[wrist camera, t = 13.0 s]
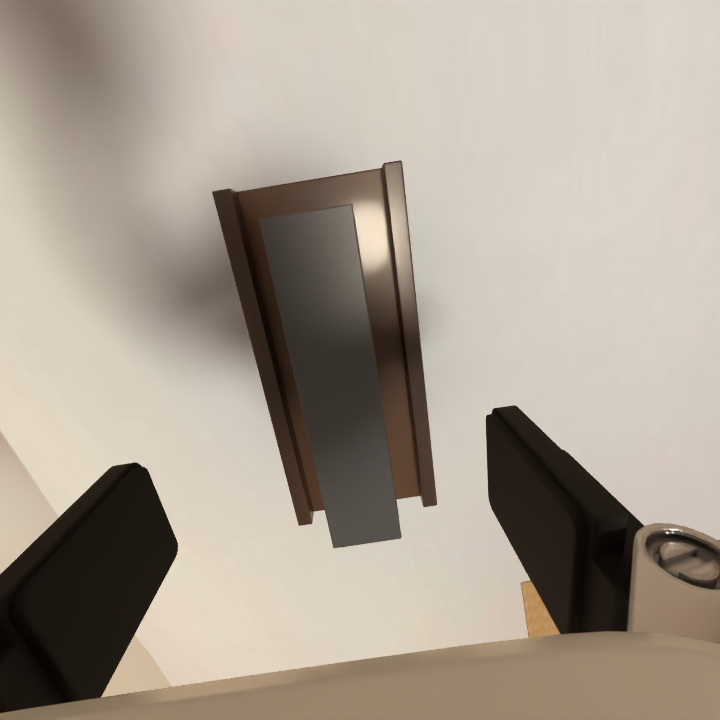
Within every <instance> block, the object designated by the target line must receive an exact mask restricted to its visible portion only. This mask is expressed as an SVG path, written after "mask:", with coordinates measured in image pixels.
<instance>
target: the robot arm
mask: <svg viewBox="0 0 720 720" xmlns="http://www.w3.org/2000/svg"><path fill="white" fill-rule="evenodd" d="M486 439H487V469H488V496H489V502H490V505H491V508H492V510H493V512H494V514H495V516H496V517H497V519H498V521H499V523H500V525H501V527H502V528H503V530H504V532H505V534H506V536H507V538H508V539H509V541H510V543H511V545H512V547H513V549H514V550H515V552H516V554H517V556H518V558H519V560H520V561H521V563H522V565H523V567H524V569H525V571H526V572H527V574H528V576H529V578H530V580H531V582H532V583H533V585H534V587H535V589H536V591H537V593H538V594H539V596H540V598H541V600H542V602H543V604H544V605H545V607H546V609H547V611H548V613H549V615H550V616H551V618H552V620H553V622H554V624H555V626H556V627H557V629H558V631H559V633H560V634H558V635H549V636H541V637H532V638H524V639H516V640H507V641H499V642H490V643H482V644H473V645H465V646H458V647H451V648H443V649H436V650H429V651H422V652H414V653H407V654H400V655H393V656H386V657H378V658H371V659H364V660H357V661H349V662H342V663H335V664H328V665H321V666H314V667H307V668H300V669H293V670H286V671H279V672H272V673H265V674H258V675H251V676H244V677H237V678H230V679H223V680H217V681H210V682H203V683H196V684H189V685H182V686H175V687H168V688H162V689H155V690H148V691H142V692H135V693H128V694H122V695H115V696H110V697H102V698H101V696H102V694H103V692H104V690H105V689H106V687H107V685H108V683H109V681H110V679H111V677H112V675H113V674H114V672H115V670H116V668H117V666H118V664H119V662H120V660H121V658H122V656H123V655H124V653H125V651H126V649H127V647H128V645H129V644H130V642H131V640H132V638H133V636H134V634H135V632H136V631H137V629H138V627H139V625H140V623H141V621H142V619H143V617H144V616H145V614H146V612H147V610H148V608H149V606H150V604H151V602H152V601H153V599H154V597H155V595H156V593H157V591H158V589H159V587H160V586H161V584H162V582H163V580H164V578H165V576H166V574H167V572H168V571H169V569H170V567H171V565H172V563H173V561H174V559H175V557H176V555H177V551H178V543H177V540H176V538H175V535H174V533H173V530H172V528H171V525H170V523H169V521H168V518H167V516H166V513H165V511H164V508H163V506H162V504H161V501H160V499H159V496H158V494H157V491H156V489H155V487H154V484H153V482H152V479H151V477H150V474H149V472H148V470H147V469H146V468H145V467H142V466H141V465H140V464H138V463H130V464H123V465H117V466H112V467H111V468H110V469H108V470H107V471H106V472H105V473H104V474H103V475H102V476H101V477H100V478H99V479H98V480H97V481H96V482H95V483H94V484H93V485H92V486H91V487H90V488H89V489H88V490H87V491H86V492H85V493H84V494H83V495H82V496H81V497H80V498H79V499H78V500H77V501H76V502H75V503H73V504H72V505H71V506H70V507H69V508H68V509H67V510H66V511H65V512H64V513H63V514H62V515H61V516H60V517H59V518H58V519H57V520H56V521H55V522H54V523H53V524H52V525H51V526H50V527H49V528H48V529H47V530H46V531H45V532H44V533H43V534H42V535H41V536H39V538H37V540H35V541H34V542H33V543H32V544H31V545H30V546H29V548H27V549H26V550H25V551H24V552H23V553H22V554H21V555H20V556H19V557H18V558H17V559H16V560H15V561H14V562H13V563H12V564H11V565H10V566H9V567H8V568H7V569H6V570H4V572H2V573H1V574H0V720H720V541H718V540H716V539H714V538H712V537H710V536H708V535H706V534H704V533H702V532H699V531H696V530H693V529H691V528H688V527H684V526H679V525H674V524H662V523H655V524H651V525H646V526H644V525H643V524H642V523H641V522H640V521H639V520H638V519H637V518H635V517H634V516H633V515H632V514H631V513H630V512H629V511H628V510H627V509H626V508H625V507H624V506H623V505H622V504H621V503H620V502H619V501H618V500H617V499H616V498H615V497H614V496H612V495H611V494H610V493H609V492H608V491H607V490H606V489H605V488H604V487H603V486H602V485H601V484H600V483H599V482H598V481H597V480H596V479H595V478H594V477H593V476H592V475H590V474H589V473H588V472H587V471H586V470H585V469H584V468H583V467H582V466H581V465H580V464H579V463H578V462H577V461H576V460H575V459H574V458H573V457H572V456H571V455H570V454H569V453H567V452H566V451H564V450H561V449H560V448H559V447H558V446H557V445H556V444H555V443H554V442H553V441H552V440H551V439H550V438H549V437H548V436H547V435H546V434H545V433H544V432H543V431H542V430H541V429H540V428H539V427H538V426H537V425H536V424H535V423H534V422H533V421H531V420H530V419H529V418H528V417H527V416H526V415H525V414H524V413H523V412H522V411H521V410H520V409H519V408H518V407H517V406H507V407H501V408H494V409H493V410H492V414H490V415H487V416H486Z"/></svg>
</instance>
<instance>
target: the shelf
mask: <svg viewBox="0 0 720 720" xmlns="http://www.w3.org/2000/svg"><path fill="white" fill-rule="evenodd" d="M212 193H213V197H214V201H215V205H216V209H217V212H218V216H219V220H220V224H221V228H222V232H223V236H224V239H225V243H226V247H227V251H228V255H229V259H230V263H231V266H232V270H233V274H234V278H235V282H236V286H237V289H238V293H239V297H240V301H241V305H242V309H243V313H244V316H245V320H246V324H247V328H248V332H249V336H250V340H251V343H252V347H253V351H254V355H255V359H256V363H257V367H258V370H259V374H260V378H261V382H262V386H263V390H264V393H265V397H266V401H267V405H268V409H269V413H270V417H271V420H272V424H273V428H274V432H275V436H276V440H277V444H278V447H279V451H280V455H281V459H282V463H283V467H284V470H285V474H286V478H287V482H288V486H289V490H290V494H291V497H292V501H293V505H294V509H295V513H296V517H297V521H298V524H299V526H300V525H307V524H312V521H313V514H314V511H320V510H325V508H324V504H323V500H322V495H321V491H320V486H319V482H318V478H317V473H316V469H315V464H314V460H313V456H312V451H311V447H310V442H309V438H308V433H307V429H306V425H305V420H304V416H303V411H302V407H301V403H300V398H299V394H298V389H297V385H296V381H295V376H294V372H293V367H292V363H291V358H290V354H289V350H288V345H287V341H286V336H285V332H284V328H283V323H282V319H281V314H280V310H279V306H278V301H277V297H276V292H275V288H274V284H273V279H272V275H271V270H270V266H269V261H268V257H267V253H266V248H265V244H264V239H263V235H262V231H261V226H260V222H259V219H262V218H268V217H274V216H280V215H286V214H292V213H298V212H305V211H311V210H317V209H323V208H329V207H335V206H341V205H347V204H352V205H353V211H354V216H355V221H356V228H357V235H358V242H359V249H360V256H361V262H362V269H363V276H364V283H365V290H366V297H367V303H368V310H369V317H370V324H371V331H372V337H373V344H374V351H375V358H376V365H377V372H378V378H379V385H380V392H381V399H382V406H383V413H384V419H385V426H386V433H387V440H388V447H389V454H390V460H391V467H392V474H393V481H394V488H395V494H396V499H402V498H408V497H415V496H420V497H421V500H422V504H423V506H424V507H428V506H435V505H437V498H436V489H435V479H434V469H433V459H432V450H431V440H430V430H429V420H428V411H427V401H426V391H425V381H424V372H423V362H422V352H421V342H420V333H419V323H418V313H417V303H416V293H415V284H414V274H413V264H412V254H411V245H410V235H409V225H408V215H407V206H406V196H405V186H404V176H403V167H402V161H394V162H388V163H384V164H383V166H382V168H379V169H373V170H367V171H361V172H355V173H349V174H343V175H337V176H331V177H324V178H318V179H312V180H306V181H300V182H294V183H288V184H282V185H276V186H270V187H264V188H258V189H252V190H246V191H240V192H236V191H234V190H232V189H224V190H218V191H213V192H212Z"/></svg>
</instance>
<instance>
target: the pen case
mask: <svg viewBox="0 0 720 720" xmlns="http://www.w3.org/2000/svg"><path fill="white" fill-rule="evenodd" d="M259 222H260V226H261V231H262V235H263V239H264V244H265V248H266V253H267V257H268V261H269V266H270V270H271V275H272V279H273V284H274V288H275V292H276V297H277V301H278V306H279V310H280V314H281V319H282V323H283V328H284V332H285V336H286V341H287V345H288V350H289V354H290V358H291V363H292V367H293V372H294V376H295V381H296V385H297V389H298V394H299V398H300V403H301V407H302V411H303V416H304V420H305V425H306V429H307V433H308V438H309V442H310V447H311V451H312V456H313V460H314V464H315V469H316V473H317V478H318V482H319V486H320V491H321V495H322V500H323V504H324V508H325V513H326V517H327V522H328V526H329V530H330V535H331V539H332V544H333V548H339V547H346V546H353V545H360V544H366V543H373V542H380V541H387V540H394V539H401V531H400V524H399V515H398V508H397V501H396V494H395V488H394V481H393V474H392V467H391V460H390V454H389V447H388V440H387V433H386V426H385V419H384V413H383V406H382V399H381V392H380V385H379V378H378V372H377V365H376V358H375V351H374V344H373V337H372V331H371V324H370V317H369V310H368V303H367V297H366V290H365V283H364V276H363V269H362V262H361V256H360V249H359V242H358V235H357V228H356V221H355V216H354V211H353V205H352V204H347V205H341V206H335V207H329V208H323V209H317V210H311V211H305V212H298V213H292V214H286V215H280V216H274V217H268V218H262V219H259Z"/></svg>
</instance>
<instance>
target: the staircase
mask: <svg viewBox="0 0 720 720" xmlns="http://www.w3.org/2000/svg"><path fill="white" fill-rule="evenodd" d="M719 541H720V540H719ZM521 586H522V593H523V600H524V607H525V614H526V621H527V628H528V634H529V638H532V637H541V636H549V635H558V634H560V633H559V631H558V629H557V627H556V626H555V624H554V622H553V620H552V618H551V616H550V615H549V613H548V611H547V609H546V607H545V605H544V604H543V602H542V600H541V598H540V596H539V594H538V593H537V591H536V589H535V587H534V585H533V583H532V582H531V581H529V582H524V583H521Z"/></svg>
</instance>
